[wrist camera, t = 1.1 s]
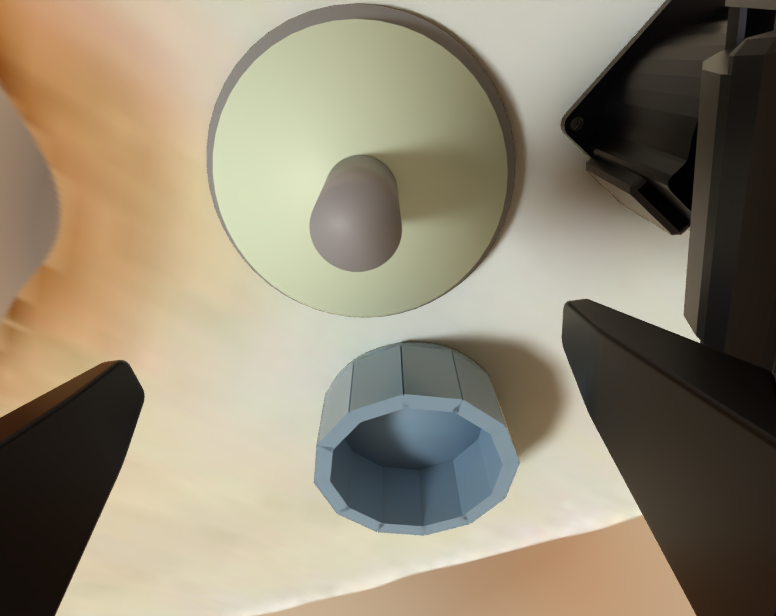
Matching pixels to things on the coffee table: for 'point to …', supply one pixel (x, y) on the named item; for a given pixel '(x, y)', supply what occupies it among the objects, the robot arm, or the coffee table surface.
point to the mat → (380, 15)
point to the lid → (360, 168)
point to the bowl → (413, 441)
